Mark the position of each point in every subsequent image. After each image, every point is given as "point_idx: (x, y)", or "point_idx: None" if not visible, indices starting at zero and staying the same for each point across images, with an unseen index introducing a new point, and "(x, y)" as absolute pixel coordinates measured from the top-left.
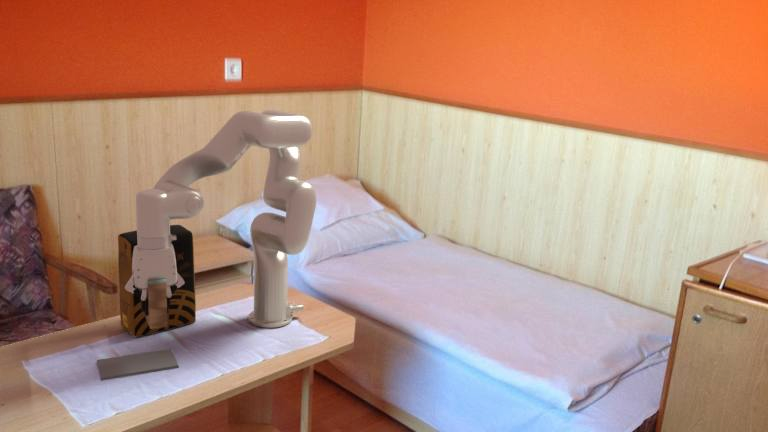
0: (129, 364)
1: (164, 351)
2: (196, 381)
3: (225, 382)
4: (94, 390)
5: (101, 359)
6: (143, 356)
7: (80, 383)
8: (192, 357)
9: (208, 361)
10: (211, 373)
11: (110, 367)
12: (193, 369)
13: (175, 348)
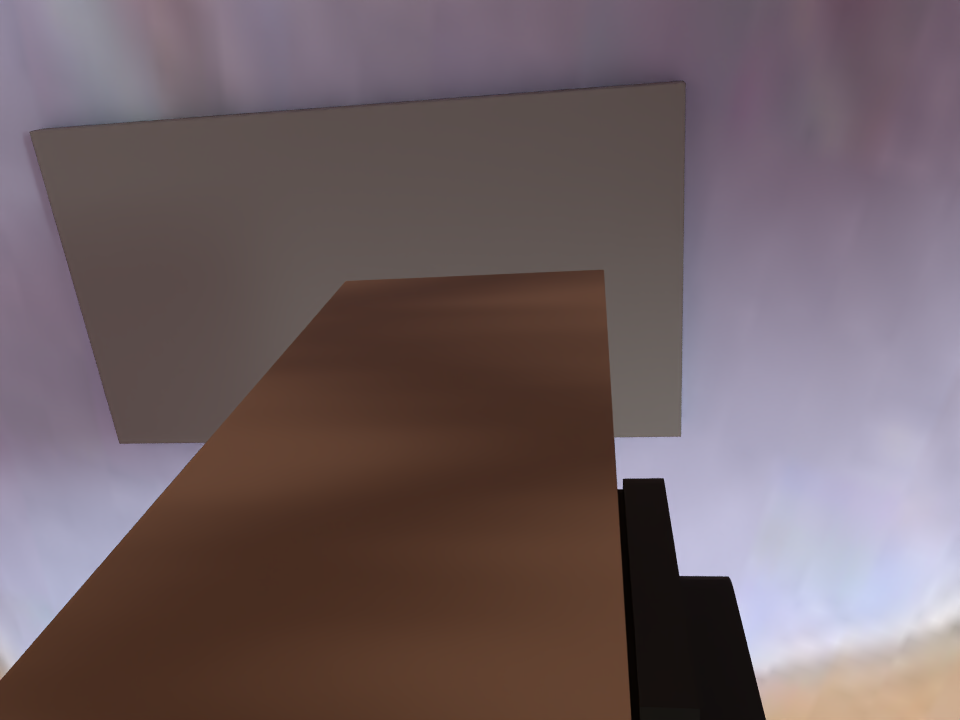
0: (301, 302)
1: (612, 136)
2: (751, 645)
3: (936, 716)
4: (110, 539)
5: (68, 137)
6: (415, 187)
7: (5, 429)
8: (839, 287)
9: (947, 401)
10: (892, 583)
11: (161, 306)
12: (781, 488)
13: (737, 41)
